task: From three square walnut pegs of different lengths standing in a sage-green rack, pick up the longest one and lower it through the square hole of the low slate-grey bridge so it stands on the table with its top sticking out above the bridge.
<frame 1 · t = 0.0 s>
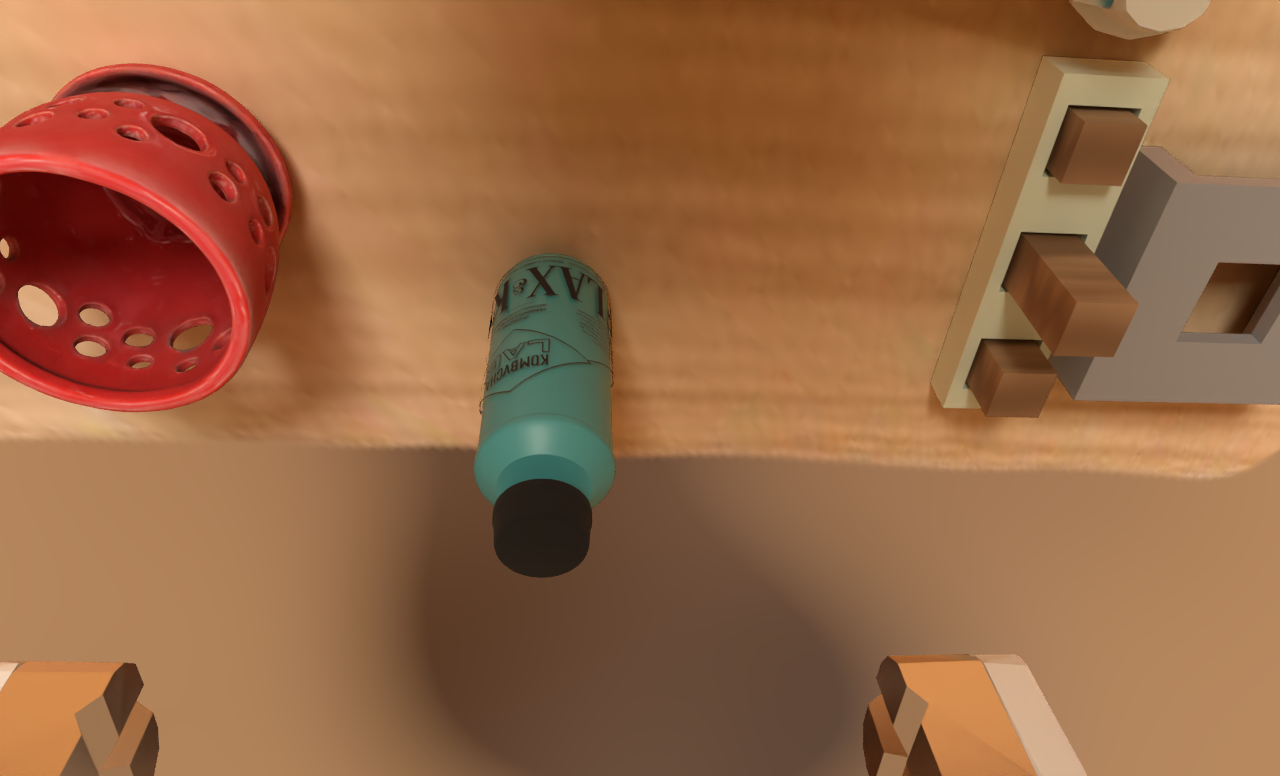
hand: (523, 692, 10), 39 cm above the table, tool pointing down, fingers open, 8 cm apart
plant pot: (182, 172, 47), on the table
beverage bottle: (551, 283, 52), on the table
pin medium: (986, 340, 57), resting in peg rack
pin short: (1068, 123, 48), resting in peg rack
hole bridge: (1196, 263, 54), on the table
peg rack: (1024, 241, 52), on the table
pin long: (1057, 282, 49), in the peg rack
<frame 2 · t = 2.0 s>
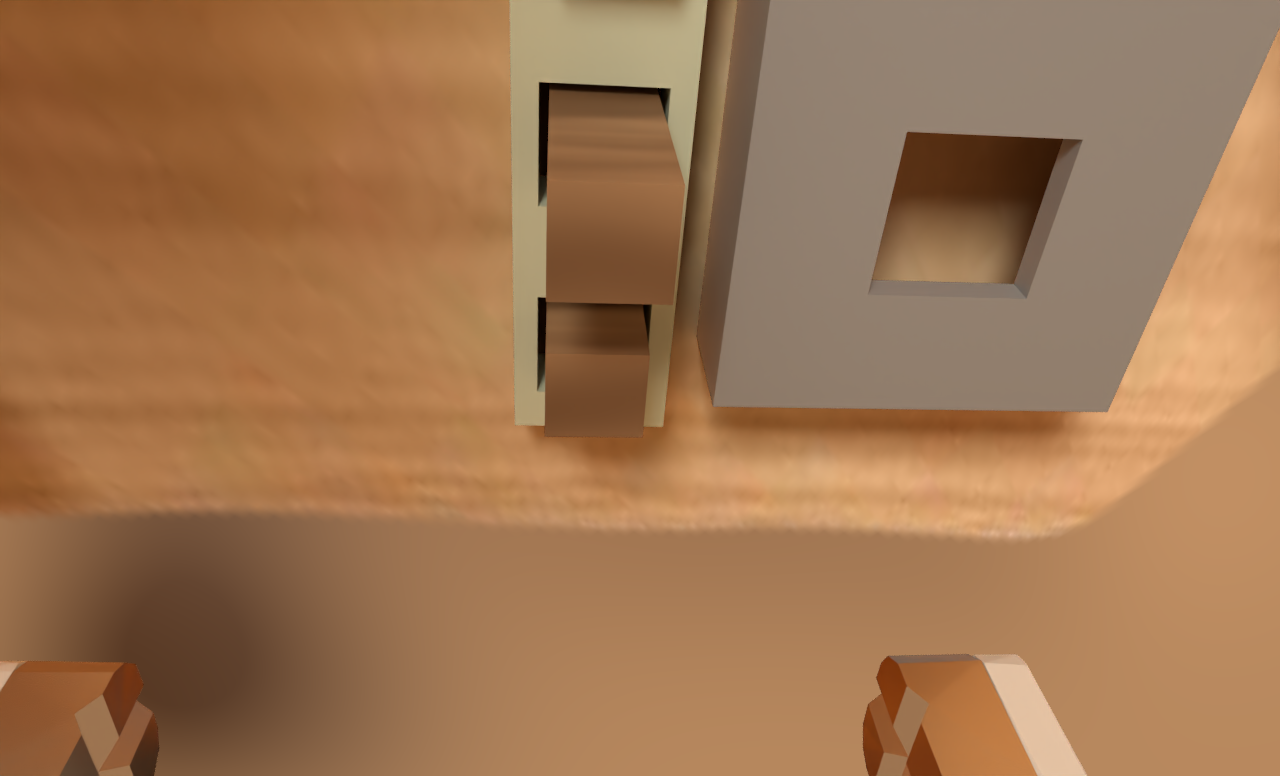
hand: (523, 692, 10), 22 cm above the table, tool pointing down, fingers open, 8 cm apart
pin medium: (591, 309, 33), resting in peg rack
hole bridge: (921, 164, 31), on the table
peg rack: (599, 121, 29), on the table
pin long: (605, 174, 26), in the peg rack
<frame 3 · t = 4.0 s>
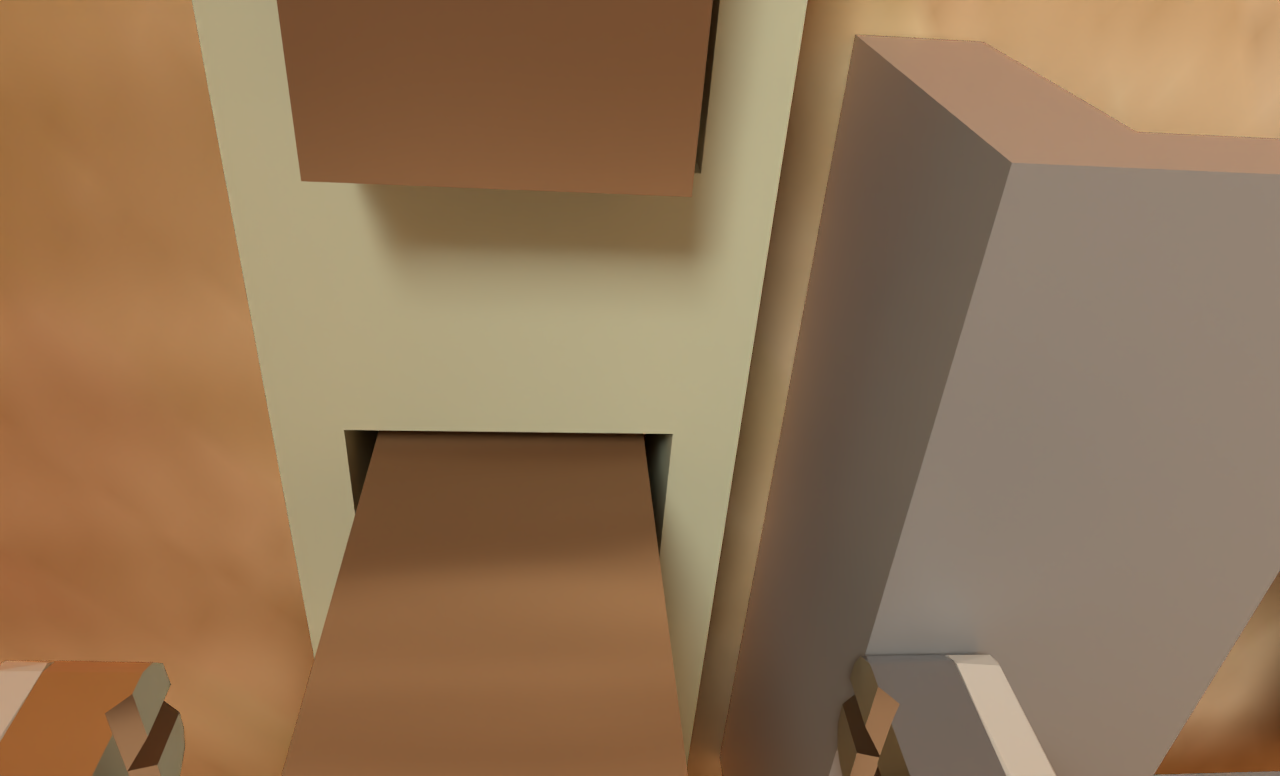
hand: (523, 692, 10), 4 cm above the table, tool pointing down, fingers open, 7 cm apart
hole bridge: (1176, 492, 15), on the table
peg rack: (519, 436, 14), on the table
pin long: (504, 677, 10), in the peg rack
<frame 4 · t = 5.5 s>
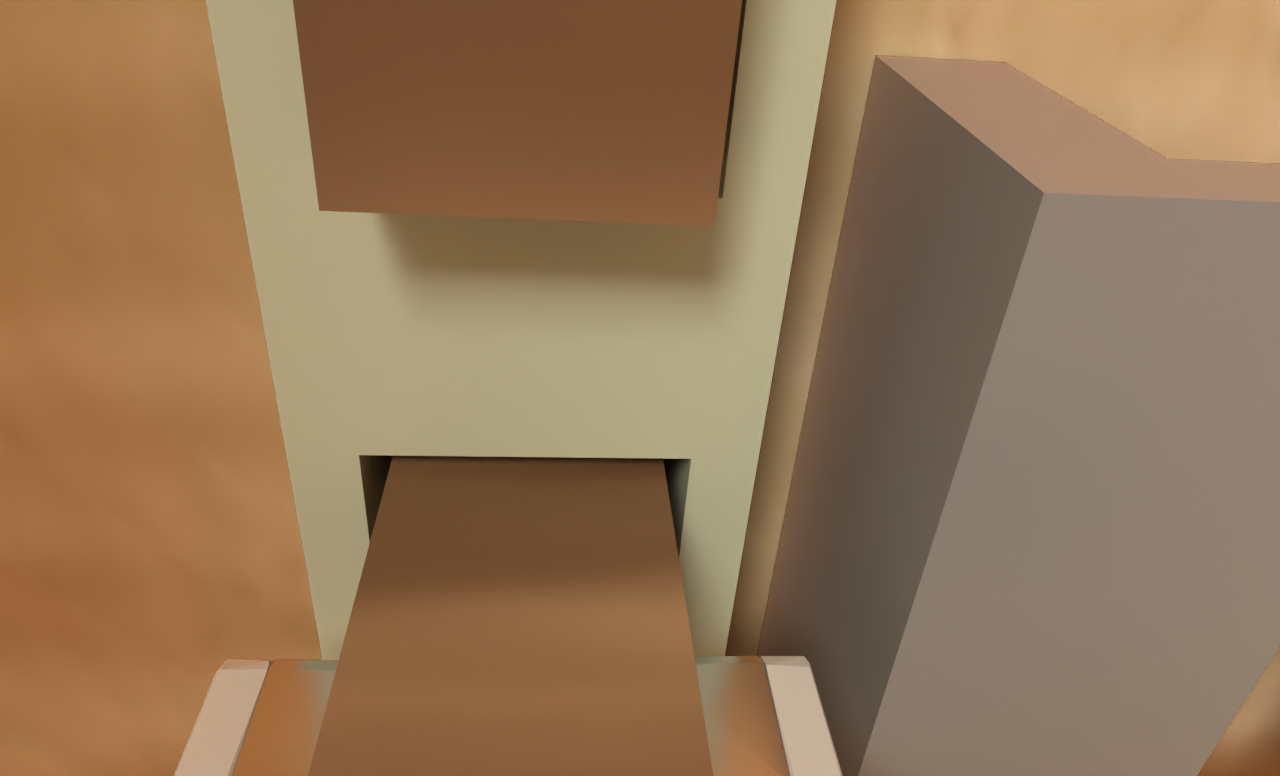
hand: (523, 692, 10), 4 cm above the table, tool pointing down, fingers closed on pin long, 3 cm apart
hole bridge: (1196, 512, 15), on the table
peg rack: (533, 457, 14), on the table
pin long: (522, 702, 10), in the peg rack, touching gripper
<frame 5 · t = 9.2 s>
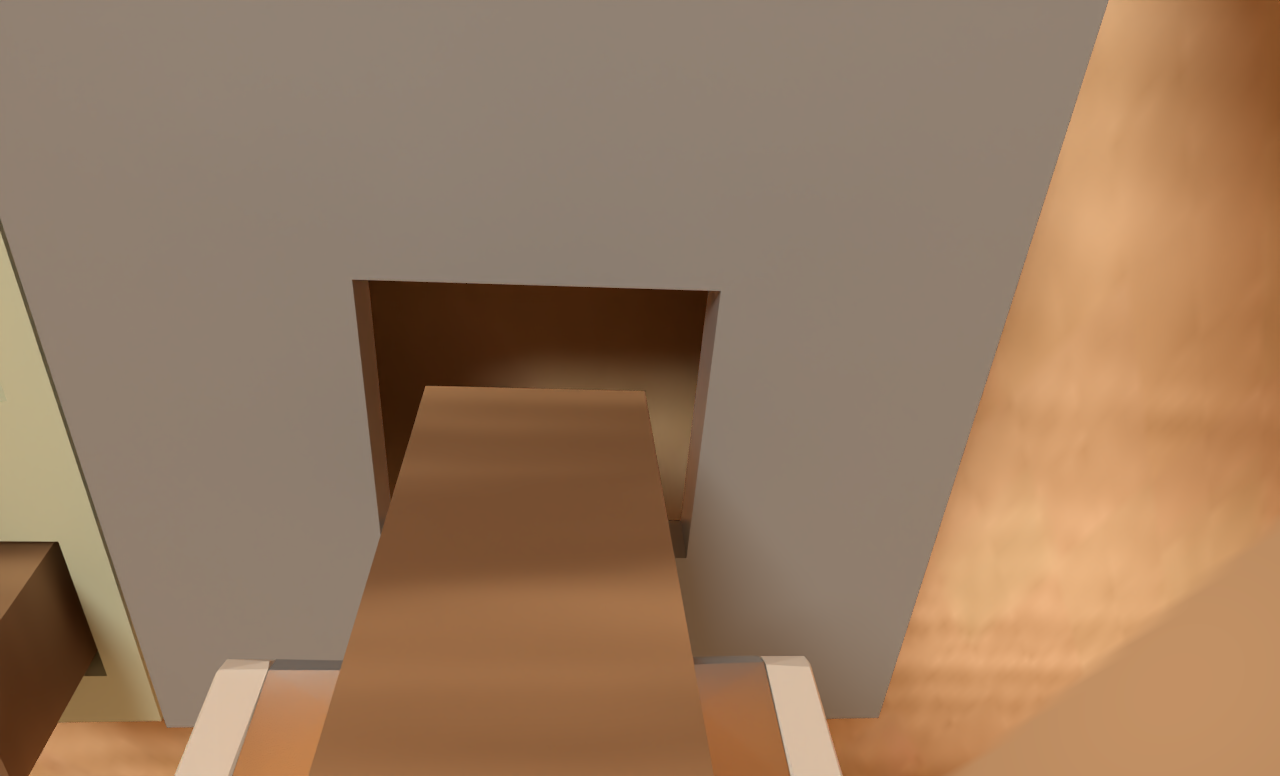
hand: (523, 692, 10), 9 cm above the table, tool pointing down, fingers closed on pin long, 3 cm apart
pin medium: (45, 527, 20), resting in peg rack
hole bridge: (544, 302, 18), on the table
pin long: (524, 699, 10), point 10 cm above the table, tilted 6°, touching gripper
when the fingers open (6 cm above the table, at t = 10.1 s): pin long drops 2 cm, on the table.
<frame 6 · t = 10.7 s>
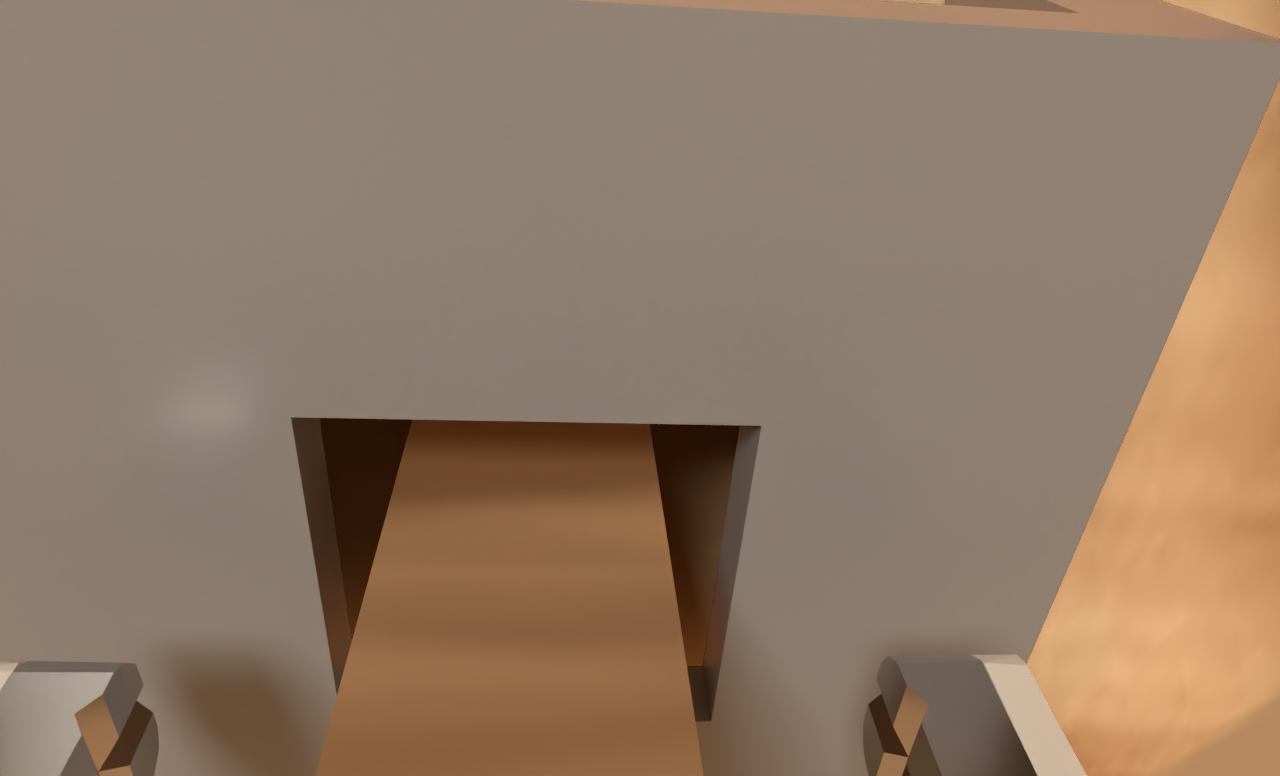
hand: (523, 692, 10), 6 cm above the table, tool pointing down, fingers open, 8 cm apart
hole bridge: (539, 396, 15), on the table
pin long: (527, 603, 12), in the hole bridge
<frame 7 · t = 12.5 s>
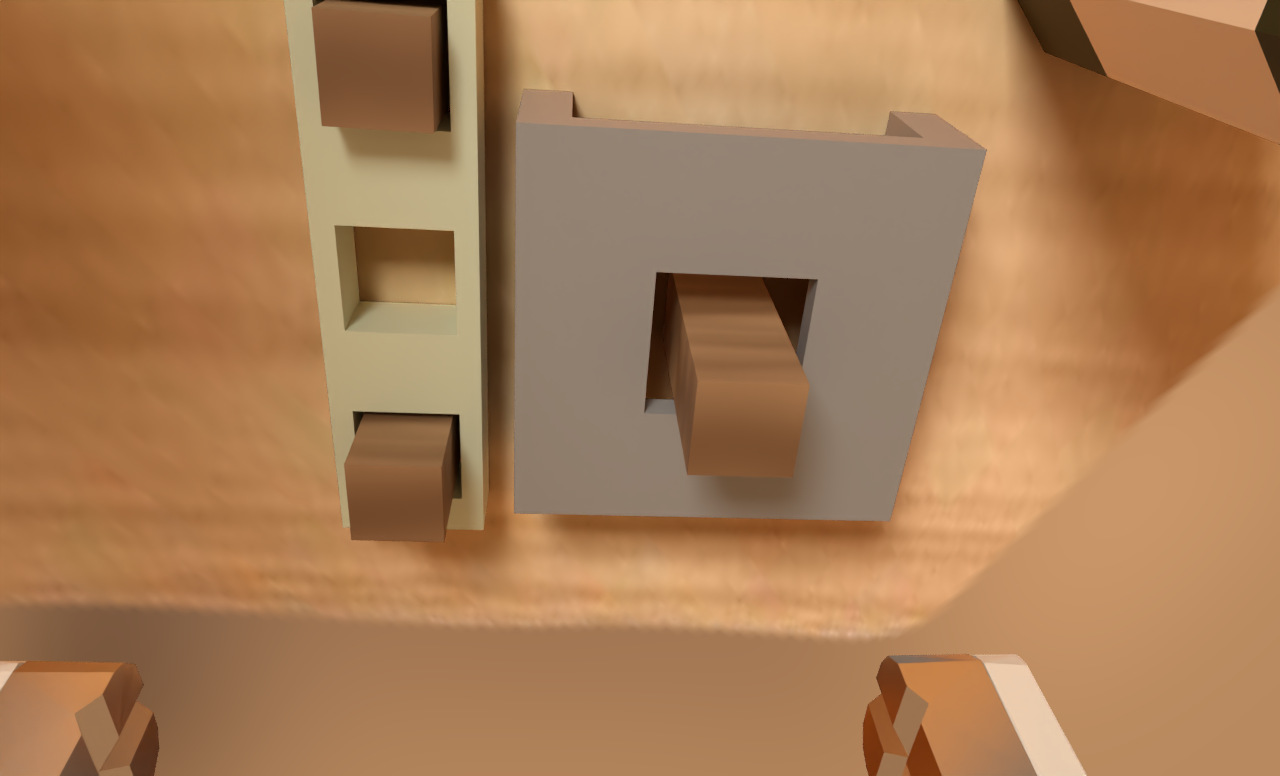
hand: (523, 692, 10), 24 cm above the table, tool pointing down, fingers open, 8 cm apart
pin medium: (419, 420, 36), resting in peg rack
pin short: (398, 48, 29), resting in peg rack
hole bridge: (710, 293, 34), on the table
peg rack: (409, 254, 33), on the table
pin long: (725, 358, 30), in the hole bridge
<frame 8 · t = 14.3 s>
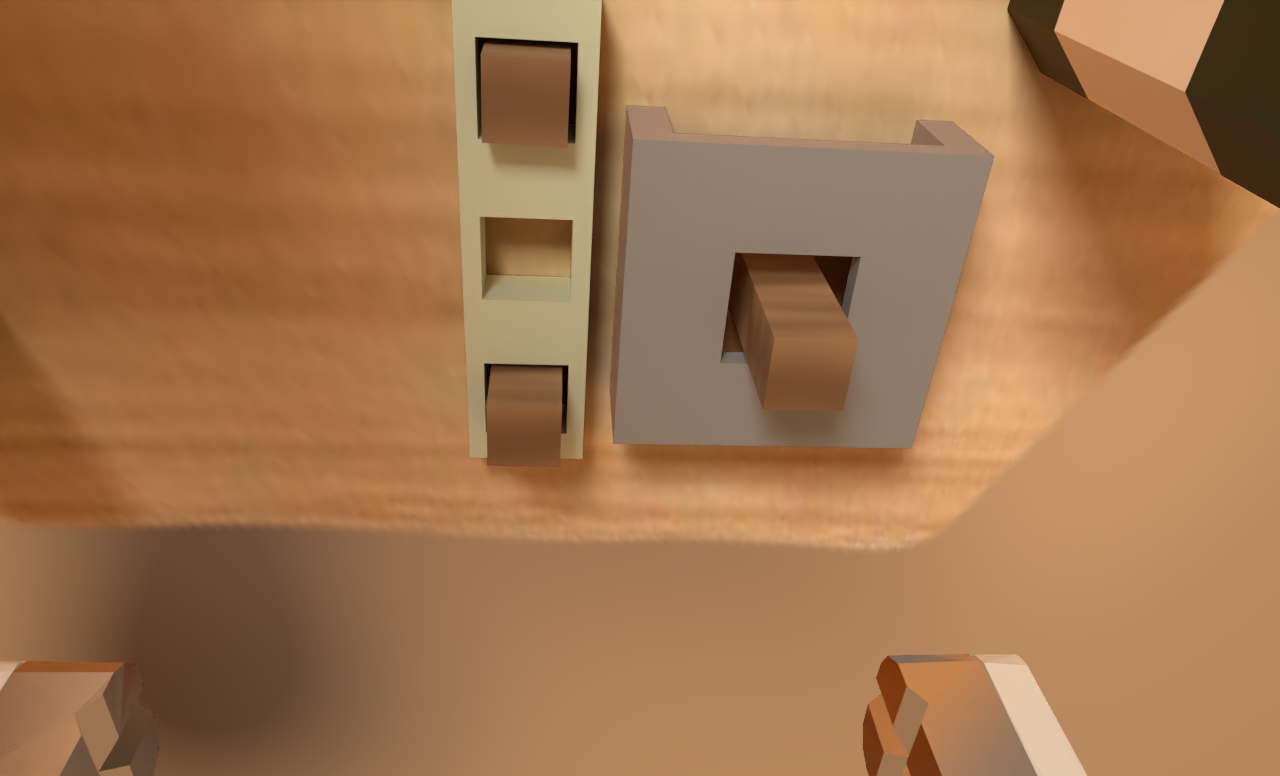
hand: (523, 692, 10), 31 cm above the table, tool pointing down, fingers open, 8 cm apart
pin medium: (528, 370, 44), resting in peg rack
pin short: (529, 74, 37), resting in peg rack
hole bridge: (768, 265, 42), on the table
peg rack: (528, 237, 40), on the table
pin long: (785, 319, 38), in the hole bridge
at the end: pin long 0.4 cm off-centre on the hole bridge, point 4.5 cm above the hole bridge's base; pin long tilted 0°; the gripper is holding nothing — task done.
